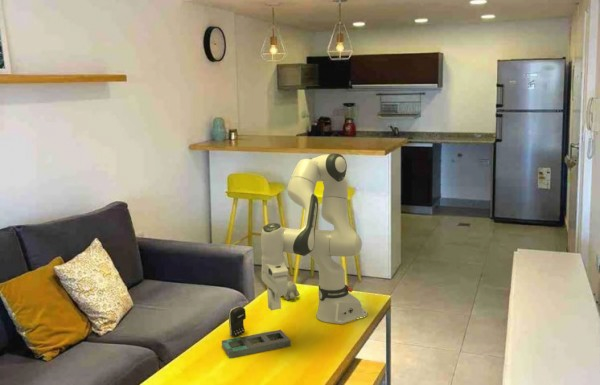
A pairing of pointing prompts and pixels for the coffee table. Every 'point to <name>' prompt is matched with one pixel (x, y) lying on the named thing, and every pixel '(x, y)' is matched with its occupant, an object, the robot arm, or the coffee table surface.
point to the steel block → (271, 302)
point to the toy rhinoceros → (291, 291)
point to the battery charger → (237, 321)
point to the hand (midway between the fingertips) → (274, 298)
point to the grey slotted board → (255, 348)
